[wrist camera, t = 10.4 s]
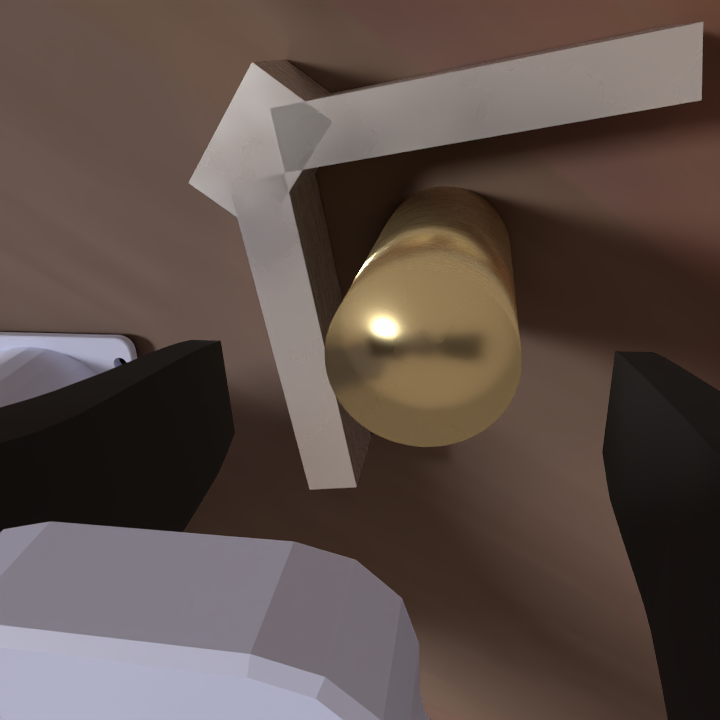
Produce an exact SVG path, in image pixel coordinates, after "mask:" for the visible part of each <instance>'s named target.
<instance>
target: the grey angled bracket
mask: <svg viewBox="0 0 720 720" xmlns="http://www.w3.org/2000/svg"><path fill="white" fill-rule="evenodd" d="M702 56H703V22H697V23H687V24H676V25H668V26H663V27H658V28H653V29H648V30H643V31H638V32H633V33H628V34H623V35H618V36H613V37H608V38H603V39H598V40H593V41H588V42H583V43H578V44H573V45H568V46H563V47H558V48H553V49H548V50H543V51H538V52H534V53H529V54H524V55H519V56H514V57H509V58H504V59H499V60H494V61H489V62H484V63H479V64H474V65H469V66H464V67H459V68H454V69H449V70H444V71H439V72H434V73H429V74H424V75H419V76H414V77H409V78H404V79H399V80H394V81H389V82H384V83H379V84H374V85H369V86H364V87H359V88H355V89H350V90H345V91H340V92H335V93H330V92H329V91H327V90H326V89H325V88H323V87H322V86H321V85H319V84H318V83H317V82H315V81H314V80H313V79H311V78H310V77H309V76H307V75H306V74H305V73H303V72H302V71H301V70H299V69H298V68H297V67H295V66H294V65H293V64H291V63H290V62H289V61H287V60H286V59H284V60H272V61H260V62H252V63H251V65H250V67H249V69H248V71H247V73H246V75H245V77H244V79H243V81H242V82H241V84H240V86H239V88H238V90H237V92H236V94H235V96H234V98H233V100H232V101H231V103H230V105H229V107H228V109H227V111H226V113H225V115H224V117H223V118H222V120H221V122H220V124H219V126H218V128H217V130H216V132H215V134H214V136H213V137H212V139H211V141H210V143H209V145H208V147H207V149H206V151H205V153H204V155H203V156H202V158H201V160H200V162H199V164H198V166H197V168H196V170H195V172H194V174H193V175H192V177H191V179H190V181H189V184H191V185H192V186H194V187H195V188H196V189H198V190H199V191H201V192H202V193H204V194H205V195H206V196H208V197H209V198H211V199H212V200H213V201H215V202H216V203H218V204H219V205H220V206H222V207H223V208H225V209H226V210H228V211H229V212H230V213H232V214H233V215H235V216H236V217H237V218H238V222H239V225H240V229H241V233H242V237H243V240H244V244H245V248H246V252H247V256H248V259H249V263H250V267H251V271H252V274H253V278H254V282H255V286H256V290H257V293H258V297H259V301H260V305H261V308H262V312H263V316H264V320H265V323H266V327H267V331H268V335H269V339H270V342H271V346H272V350H273V354H274V357H275V361H276V365H277V369H278V373H279V376H280V380H281V384H282V388H283V391H284V395H285V399H286V403H287V406H288V410H289V414H290V418H291V422H292V425H293V429H294V433H295V437H296V440H297V444H298V448H299V452H300V456H301V459H302V463H303V467H304V471H305V474H306V478H307V482H308V486H309V489H310V490H313V489H332V488H351V487H357V484H358V481H359V478H360V474H361V471H362V468H363V464H364V461H365V458H366V454H367V451H368V448H369V444H370V441H371V433H370V430H368V429H366V428H365V427H364V426H362V425H361V424H360V423H358V422H357V421H356V420H355V419H354V418H353V417H352V416H351V415H350V414H349V413H348V412H347V411H346V410H345V408H344V407H343V406H342V405H341V403H340V402H339V400H338V399H337V397H336V395H335V394H334V392H333V389H332V387H331V385H330V383H329V379H328V376H327V372H326V367H325V351H324V349H325V342H326V336H327V333H328V329H329V326H330V324H331V322H332V319H333V317H334V315H335V313H336V312H337V310H338V308H339V306H340V305H341V303H342V301H343V300H342V296H341V291H340V286H339V281H338V277H337V272H336V267H335V262H334V258H333V253H332V248H331V243H330V239H329V234H328V229H327V225H326V220H325V215H324V210H323V206H322V201H321V196H320V191H319V187H318V182H317V177H316V171H317V169H318V168H319V167H321V166H327V165H332V164H338V163H344V162H350V161H355V160H361V159H367V158H373V157H378V156H384V155H390V154H396V153H401V152H407V151H413V150H419V149H424V148H430V147H436V146H442V145H447V144H453V143H459V142H465V141H470V140H476V139H482V138H488V137H493V136H499V135H505V134H511V133H516V132H522V131H528V130H534V129H539V128H545V127H551V126H556V125H562V124H568V123H574V122H579V121H585V120H591V119H597V118H602V117H608V116H614V115H620V114H625V113H631V112H637V111H643V110H648V109H654V108H660V107H666V106H671V105H677V104H683V103H689V102H694V101H700V100H702Z"/></svg>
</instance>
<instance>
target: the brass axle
mask: <svg viewBox="0 0 720 720" xmlns="http://www.w3.org/2000/svg"><path fill="white" fill-rule="evenodd" d="M324 351H325V367H326V372H327V376H328V379H329V383H330V385H331V387H332V389H333V392H334V394H335V395H336V397H337V399H338V400H339V402H340V403H341V405H342V406H343V407H344V408H345V410H346V411H347V412H348V413H349V414H350V415H351V416H352V417H353V418H354V419H355V420H356V421H357V422H358V423H360V424H361V425H362V426H364V427H365V428H366V429H368V430H370V431H371V432H373V433H375V434H376V435H379V436H381V437H383V438H385V439H387V440H390V441H393V442H396V443H400V444H405V445H409V446H418V447H437V446H446V445H450V444H454V443H458V442H461V441H464V440H466V439H469V438H471V437H473V436H475V435H477V434H479V433H481V432H482V431H484V430H485V429H486V428H488V427H489V426H491V425H492V424H493V423H494V422H495V421H496V420H497V419H498V418H499V417H500V416H501V415H502V414H503V413H504V411H505V410H506V409H507V407H508V406H509V404H510V403H511V401H512V399H513V397H514V395H515V393H516V390H517V387H518V384H519V380H520V375H521V368H522V355H521V345H520V335H519V325H518V316H517V306H516V296H515V286H514V277H513V267H512V257H511V247H510V240H509V234H508V231H507V228H506V225H505V223H504V221H503V219H502V218H501V216H500V214H499V213H498V212H497V210H496V209H495V208H494V207H493V206H492V205H491V204H490V203H489V202H488V201H486V200H485V199H484V198H482V197H481V196H479V195H477V194H475V193H473V192H471V191H468V190H465V189H462V188H456V187H435V188H430V189H426V190H424V191H421V192H418V193H417V194H415V195H413V196H411V197H409V198H408V199H407V200H405V201H404V202H403V203H402V204H401V205H400V206H398V208H397V209H396V210H395V211H394V212H393V214H392V215H391V217H390V218H389V220H388V222H387V223H386V225H385V227H384V229H383V230H382V232H381V234H380V236H379V238H378V239H377V241H376V243H375V245H374V246H373V248H372V250H371V252H370V253H369V255H368V257H367V259H366V260H365V262H364V264H363V266H362V268H361V269H360V271H359V273H358V275H357V276H356V278H355V280H354V282H353V283H352V285H351V287H350V289H349V290H348V292H347V294H346V296H345V298H344V299H343V301H342V303H341V305H340V306H339V308H338V310H337V312H336V313H335V315H334V317H333V319H332V322H331V324H330V326H329V329H328V333H327V336H326V342H325V349H324Z"/></svg>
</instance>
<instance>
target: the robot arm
mask: <svg viewBox="0 0 720 720" xmlns="http://www.w3.org/2000/svg"><path fill="white" fill-rule="evenodd" d="M119 358H122V359H124V360H125V361H126V363H125V364H122V363H121V362H120V360H119ZM234 433H235V431H234V425H233V418H232V412H231V405H230V399H229V392H228V386H227V379H226V372H225V366H224V359H223V353H222V346H221V341H207V340H189V341H184V342H180V343H177V344H174V345H171V346H168V347H165V348H162V349H160V350H157V351H154V352H152V353H149V354H147V355H144V356H142V357H139V358H137V354H136V349H135V346H134V344H133V342H132V341H131V340H130V339H129V338H127V337H126V336H122V335H101V334H62V333H22V332H0V720H431V719H429V718H428V716H427V715H426V713H425V711H424V708H423V703H422V698H421V693H420V664H419V642H418V639H417V637H416V634H415V631H414V629H413V626H412V623H411V621H410V618H409V615H408V613H407V610H406V607H405V604H404V602H403V599H402V598H401V597H400V596H399V595H398V594H397V593H395V592H394V591H393V590H392V589H391V588H389V587H388V586H387V585H386V584H385V583H383V582H382V581H381V580H380V579H378V578H377V577H376V576H375V575H374V574H372V573H371V572H370V571H369V570H368V569H366V568H365V567H364V566H363V565H362V564H360V563H359V562H358V561H357V560H355V559H352V558H348V557H345V556H342V555H338V554H335V553H331V552H328V551H325V550H321V549H318V548H314V547H311V546H308V545H304V544H301V543H297V542H293V541H281V540H269V539H257V538H245V537H233V536H221V535H209V534H197V533H185V532H183V530H184V529H185V527H186V526H187V524H188V522H189V521H190V519H191V518H192V516H193V514H194V513H195V511H196V509H197V508H198V506H199V505H200V503H201V501H202V500H203V498H204V496H205V495H206V493H207V491H208V490H209V488H210V486H211V485H212V483H213V481H214V479H215V478H216V476H217V474H218V472H219V470H220V468H221V466H222V463H223V461H224V459H225V456H226V454H227V451H228V449H229V446H230V443H231V441H232V438H233V436H234ZM603 459H604V466H605V472H606V479H607V485H608V491H609V496H610V501H611V504H612V507H613V510H614V514H615V517H616V520H617V523H618V526H619V529H620V533H621V536H622V539H623V542H624V545H625V548H626V551H627V554H628V557H629V560H630V563H631V566H632V570H633V573H634V576H635V579H636V582H637V585H638V588H639V591H640V594H641V597H642V600H643V603H644V607H645V611H646V614H647V618H648V622H649V625H650V629H651V634H652V639H653V644H654V649H655V654H656V659H657V664H658V669H659V674H660V679H661V684H662V689H663V695H664V700H665V706H666V712H667V717H668V720H720V391H719V390H717V389H715V388H714V387H712V386H710V385H709V384H707V383H706V382H704V381H702V380H701V379H699V378H697V377H696V376H694V375H693V374H691V373H689V372H688V371H686V370H685V369H683V368H681V367H680V366H678V365H676V364H675V363H673V362H671V361H670V360H668V359H666V358H664V357H662V356H660V355H658V354H656V353H653V352H619V351H615V358H614V366H613V374H612V382H611V389H610V397H609V405H608V413H607V421H606V428H605V436H604V444H603Z"/></svg>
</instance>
